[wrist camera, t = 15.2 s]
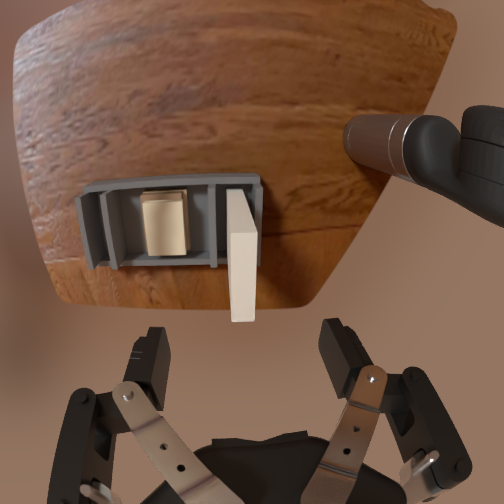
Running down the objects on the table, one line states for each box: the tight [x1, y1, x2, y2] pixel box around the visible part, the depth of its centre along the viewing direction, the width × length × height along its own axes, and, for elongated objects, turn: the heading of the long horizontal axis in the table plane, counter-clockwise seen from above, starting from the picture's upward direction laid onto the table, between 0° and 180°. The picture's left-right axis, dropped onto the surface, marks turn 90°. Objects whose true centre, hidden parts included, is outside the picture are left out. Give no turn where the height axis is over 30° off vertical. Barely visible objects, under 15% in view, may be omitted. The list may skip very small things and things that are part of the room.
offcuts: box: [140, 188, 191, 256], centre depth 41 cm, size 7×10×4 cm
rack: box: [75, 173, 263, 269], centre depth 41 cm, size 28×14×7 cm, turn 89°
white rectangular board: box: [226, 187, 258, 322], centre depth 36 cm, size 2×10×20 cm, turn 179°
